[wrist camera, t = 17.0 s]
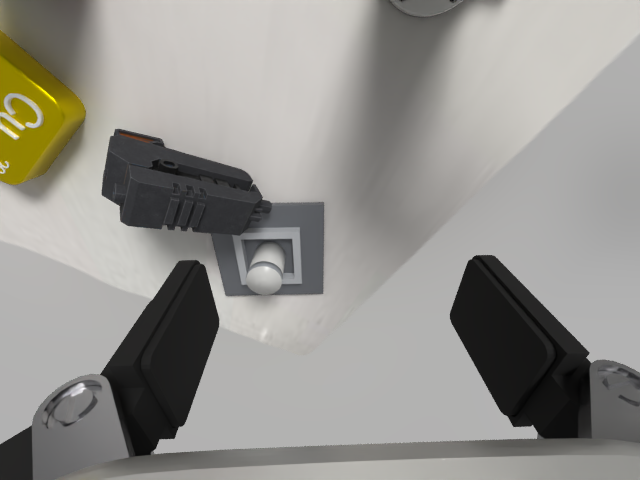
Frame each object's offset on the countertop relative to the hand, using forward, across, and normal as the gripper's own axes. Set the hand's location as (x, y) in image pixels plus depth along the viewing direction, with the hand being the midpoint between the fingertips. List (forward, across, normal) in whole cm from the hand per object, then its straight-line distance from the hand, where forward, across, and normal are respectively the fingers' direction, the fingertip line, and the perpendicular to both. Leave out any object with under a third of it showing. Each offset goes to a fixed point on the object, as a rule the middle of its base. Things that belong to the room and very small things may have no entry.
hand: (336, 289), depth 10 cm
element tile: (+33, +39, -3) cm, 51 cm away
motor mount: (+32, +8, +20) cm, 39 cm away
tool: (+33, +16, +6) cm, 37 cm away
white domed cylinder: (+31, +8, +20) cm, 38 cm away
